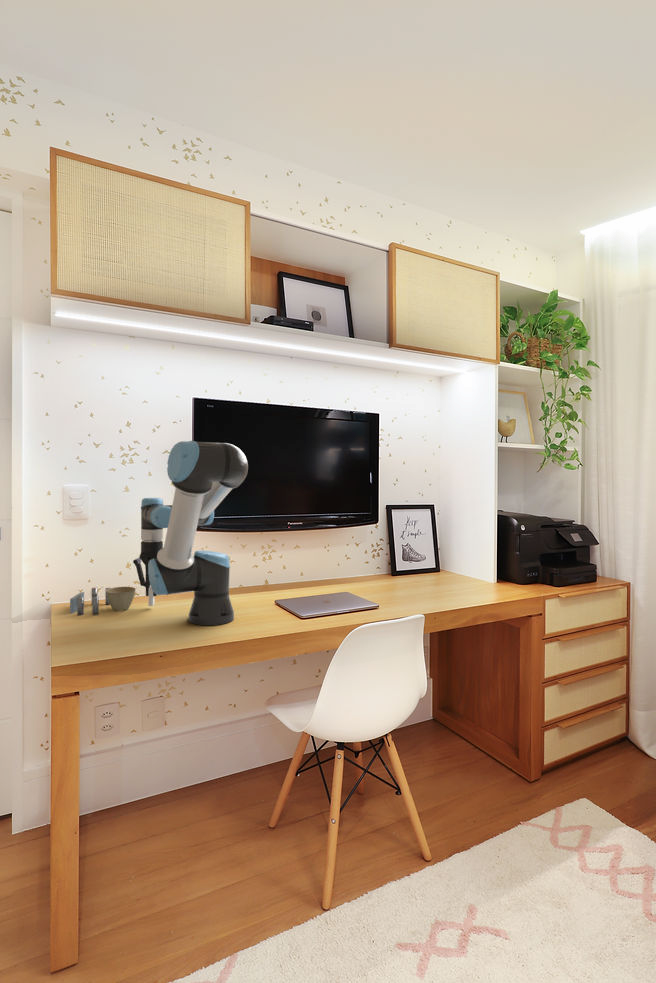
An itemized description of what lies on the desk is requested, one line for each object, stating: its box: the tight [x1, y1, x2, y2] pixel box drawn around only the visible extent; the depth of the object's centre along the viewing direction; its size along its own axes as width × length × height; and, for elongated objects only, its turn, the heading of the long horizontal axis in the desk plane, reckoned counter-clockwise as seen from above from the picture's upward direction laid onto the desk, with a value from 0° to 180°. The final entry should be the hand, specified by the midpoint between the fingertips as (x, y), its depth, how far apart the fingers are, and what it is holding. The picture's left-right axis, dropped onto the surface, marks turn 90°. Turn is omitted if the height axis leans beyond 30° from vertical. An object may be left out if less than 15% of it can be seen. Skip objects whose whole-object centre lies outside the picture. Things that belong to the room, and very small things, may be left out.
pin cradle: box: [69, 587, 111, 616], centre depth 189 cm, size 10×16×6 cm, turn 6°
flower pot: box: [106, 586, 136, 612], centre depth 190 cm, size 10×10×7 cm
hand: (151, 604), depth 191 cm, fingers closed
